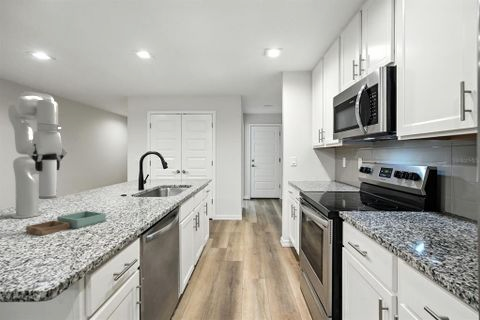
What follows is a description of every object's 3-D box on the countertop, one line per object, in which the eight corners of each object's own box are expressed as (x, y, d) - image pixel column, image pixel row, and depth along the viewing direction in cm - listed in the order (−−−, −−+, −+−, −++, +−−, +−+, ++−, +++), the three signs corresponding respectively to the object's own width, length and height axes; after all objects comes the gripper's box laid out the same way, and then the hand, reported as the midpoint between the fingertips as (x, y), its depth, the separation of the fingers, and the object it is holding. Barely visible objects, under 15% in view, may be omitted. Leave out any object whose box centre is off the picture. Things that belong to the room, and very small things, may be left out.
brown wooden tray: (26, 232, 111) (26, 226, 111) (54, 225, 121) (53, 220, 121) (41, 235, 107) (41, 229, 107) (69, 228, 117) (69, 223, 117)
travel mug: (60, 196, 117) (60, 152, 117) (48, 199, 110) (48, 152, 110) (47, 196, 118) (48, 151, 117) (34, 198, 111) (35, 151, 111)
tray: (57, 225, 122) (57, 216, 122) (86, 218, 135) (86, 210, 135) (77, 229, 116) (77, 220, 116) (105, 221, 130) (105, 213, 129)
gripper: (62, 130, 122) (62, 169, 123) (19, 127, 107) (19, 171, 107) (73, 130, 119) (73, 169, 120) (29, 127, 104) (30, 172, 104)
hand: (47, 170), depth 114 cm, fingers closed on travel mug, 6 cm apart
